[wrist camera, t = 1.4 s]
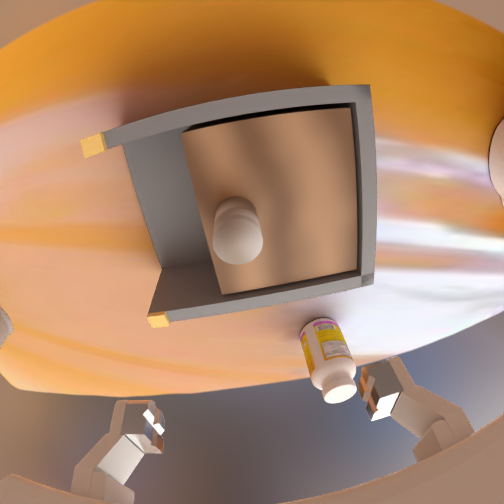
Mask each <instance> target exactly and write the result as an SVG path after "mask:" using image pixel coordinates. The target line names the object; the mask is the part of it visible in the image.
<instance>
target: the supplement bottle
mask: <svg viewBox="0 0 504 504" xmlns="http://www.w3.org/2000/svg"><path fill="white" fill-rule="evenodd" d="M300 340H301V344H302V348H303V351H304V355H305V359H306V362H307V366H308V369H309V373H310V377H311V380H312V383H313V385H314V386H315V387H316V388H318V389H320V390H323V391H322V394H323V397H324V400H325V401H326V402H328V403H339V402H342V401H345V400H347V399H348V398H350V397H352V396H353V395H354V394H355V392H356V390H357V388H356V385H355V381H354V380H353V377H354V376H355V373H356V366H355V363H354V361H353V359H352V356H351V354H350V351H349V349H348V347H347V344H346V342H345V340H344V337H343V335H342V333H341V330H340V328H339V326H338V324H337V323H336V322H335V321H333V320H331V319H327V318H321V319H317V320H314V321H312V322H310V323H309V324H307V325H306V326H305V327H304V328H303V330H302V331H301V334H300Z"/></svg>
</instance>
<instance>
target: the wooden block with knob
mask: <svg viewBox="0 0 504 504" xmlns="http://www.w3.org/2000/svg"><path fill="white" fill-rule="evenodd" d="M180 134H181V138H182V143H183V147H184V151H185V155H186V160H187V164H188V168H189V172H190V176H191V180H192V184H193V188H194V192H195V196H196V200H197V204H198V208H199V212H200V216H201V220H202V224H203V227H204V231H205V235H206V239H207V242H208V246H209V250H210V254H211V257H212V261H213V264H214V268H215V272H216V275H217V279H218V282H219V286H220V289H221V293H222V295H224V294H230V293H236V292H242V291H248V290H253V289H259V288H264V287H270V286H275V285H280V284H286V283H291V282H296V281H301V280H306V279H311V278H316V277H321V276H326V275H331V274H336V273H341V272H346V271H350V270H355V269H357V189H356V168H355V152H354V139H353V128H352V118H351V109H350V108H348V107H340V106H331V105H312V106H302V107H293V108H285V109H277V110H270V111H263V112H257V113H250V114H245V115H239V116H233V117H228V118H223V119H218V120H213V121H208V122H204V123H199V124H195V125H192V126H190V127H189V128H187V129H186V130H185V131H183V132H182V133H180Z"/></svg>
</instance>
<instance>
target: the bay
mask: <svg viewBox="0 0 504 504" xmlns="http://www.w3.org/2000/svg"><path fill="white" fill-rule="evenodd" d="M312 105H331V106H340V107H348V108H350V109H351V118H352V128H353V139H354V152H355V168H356V189H357V269H355V270H350V271H346V272H341V273H336V274H331V275H326V276H321V277H316V278H311V279H306V280H301V281H296V282H291V283H286V284H280V285H275V286H270V287H264V288H259V289H253V290H248V291H242V292H236V293H230V294H224V295H222V293H221V289H220V286H219V282H218V279H217V275H216V272H215V268H214V264H213V261H212V257H211V254H210V250H209V246H208V242H207V239H206V235H205V231H204V227H203V224H202V220H201V216H200V212H199V208H198V204H197V200H196V196H195V192H194V188H193V184H192V180H191V176H190V172H189V168H188V164H187V160H186V155H185V151H184V147H183V143H182V138H181V134H180V133H182V132H183V131H185V130H186V129H187V128H189V127H190V126H192V125H195V124H199V123H204V122H208V121H213V120H218V119H223V118H228V117H233V116H239V115H245V114H250V113H257V112H263V111H270V110H277V109H285V108H293V107H302V106H312ZM80 143H81V146H82V150H83V154H84V157H85V158H87V157H90V156H92V155H95V154H98V153H101V152H104V151H106V150H107V149H109V148H112V147H115V146H118V145H121V144H123V148H124V152H125V156H126V159H127V163H128V166H129V170H130V173H131V177H132V180H133V184H134V187H135V190H136V194H137V197H138V200H139V203H140V206H141V210H142V213H143V216H144V219H145V222H146V225H147V228H148V231H149V234H150V237H151V239H152V242H153V245H154V248H155V251H156V254H157V256H158V259H159V262H160V264H161V267H162V271H161V274H160V277H159V280H158V283H157V286H156V290H155V293H154V296H153V299H152V302H151V306H150V309H149V312H148V315H147V319H148V321H149V323H150V325H151V327H152V328H157V327H165V326H169V325H170V322H173V321H180V320H187V319H194V318H201V317H207V316H214V315H220V314H226V313H232V312H238V311H244V310H250V309H256V308H261V307H267V306H272V305H278V304H283V303H288V302H293V301H299V300H304V299H309V298H313V297H318V296H323V295H328V294H332V293H337V292H342V291H346V290H351V289H355V288H359V287H364V286H368V285H372V284H373V282H374V269H375V252H376V228H377V172H376V148H375V132H374V119H373V109H372V99H371V90H370V85H334V86H317V87H305V88H294V89H285V90H277V91H269V92H262V93H255V94H249V95H242V96H237V97H231V98H226V99H221V100H216V101H211V102H206V103H202V104H197V105H193V106H189V107H185V108H181V109H177V110H173V111H169V112H165V113H162V114H158V115H155V116H151V117H148V118H144V119H141V120H138V121H135V122H132V123H129V124H126V125H123V126H120V127H117V128H114V129H111V130H108V131H105V132H101V133H98V134H95V135H93V136H90V137H88V138H85V139H83V140H80Z"/></svg>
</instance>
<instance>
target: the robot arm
mask: <svg viewBox="0 0 504 504" xmlns="http://www.w3.org/2000/svg"><path fill="white" fill-rule="evenodd" d="M489 169H490V176H491V181H492V184H493V186H494V188H495V190H496V191H497V192H498V193H499V195H500V196H501V199H502V203H503V206H504V119H503V120H502V122H501V123H500V124H499V125H498V127H497V129H496V131H495V133H494V136H493V139H492V143H491V148H490V155H489ZM361 374H362V377H361V378H360V379H359V391H360V395H361V398H362V400H364V401H365V402H367V406H366V410H367V413H368V415H369V418H370V420H371V421H373V420H377V419H380V418H383V417H386V416H389V415H390V417H392V418H393V419H394V420H396V421H397V422H398V423H400V424H401V425H402V426H404V427H405V428H406V429H408V430H409V431H410V432H412V433H413V434H415V435H416V436H417V437H418V438H420V439H421V440H420V441H419V442H418V444H417V445H416V446H415V447H414V449H413V453H414V456H415V458H416V460H417V463H416V464H414V465H411V466H409V467H406V468H404V469H401V470H399V471H397V472H394V473H391V474H389V475H386V476H384V477H381V478H378V479H375V480H372V481H370V482H367V483H363V484H361V485H357V486H354V487H351V488H348V489H344V490H340V491H337V492H333V493H329V494H325V495H320V496H316V497H312V498H307V499H302V500H297V501H292V502H285V503H280V504H504V413H503V414H501V415H500V416H498V417H497V418H495V419H494V420H493V421H491V422H490V423H488V424H487V425H485V426H484V427H482V428H480V429H479V430H477V431H476V432H474V430H473V428H472V426H471V424H470V422H469V421H468V419H467V417H466V415H465V413H464V412H463V410H462V408H460V407H458V406H456V405H454V404H452V403H451V402H449V401H447V400H445V399H443V398H442V397H440V396H438V395H436V394H434V393H432V392H430V391H429V390H427V389H425V388H423V387H421V386H419V385H418V386H416V385H415V384H414V382H413V380H412V378H411V377H410V375H409V373H408V371H407V369H406V368H405V366H404V364H403V363H402V361H401V359H400V358H399V357H397V356H396V357H393V358H390V359H387V360H383V361H380V362H377V363H374V364H370V365H368V366H364V367H363V368H362V370H361ZM164 430H165V422H164V417H163V414H162V412H161V411H160V410H159V409H157V408H156V404H155V403H154V401H153V400H118V401H117V402H116V404H115V407H114V412H113V417H112V421H111V426H110V431H109V433H107V434H105V435H104V436H103V437H102V438H101V440H100V441H99V442H98V443H97V444H96V445H95V446H94V447H93V448H92V449H91V450H90V451H89V452H88V454H87V455H86V456H85V457H84V458H83V459H82V460H81V461H80V462H79V463H78V464H77V465H76V466H75V470H74V475H73V481H72V486H71V492H70V493H69V492H66V491H62V490H59V489H55V488H52V487H48V486H46V485H43V484H40V483H37V482H34V481H31V480H29V479H26V478H23V477H21V476H18V475H16V474H9V475H8V476H6V477H4V478H3V479H2V480H1V481H0V504H134V492H133V491H132V490H131V489H129V488H127V487H126V486H124V483H125V482H126V480H127V479H128V477H129V476H130V474H131V473H132V471H133V470H134V469H135V467H136V466H137V464H138V463H139V461H140V460H141V458H142V457H143V455H144V453H163V443H164V439H163V438H162V436H161V434H162V433H163V431H164Z"/></svg>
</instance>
